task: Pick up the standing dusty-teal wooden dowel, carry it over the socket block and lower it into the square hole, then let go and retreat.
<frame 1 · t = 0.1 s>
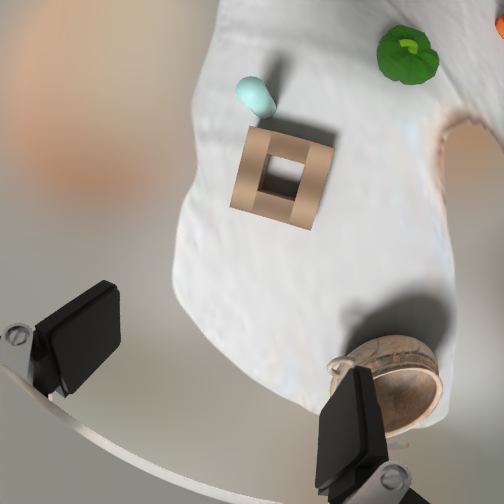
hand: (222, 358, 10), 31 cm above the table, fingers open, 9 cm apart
cooking pot: (379, 359, 43), on the table
bell pepper: (396, 66, 28), on the table
socket: (283, 176, 37), on the table
peg: (264, 107, 35), on the table
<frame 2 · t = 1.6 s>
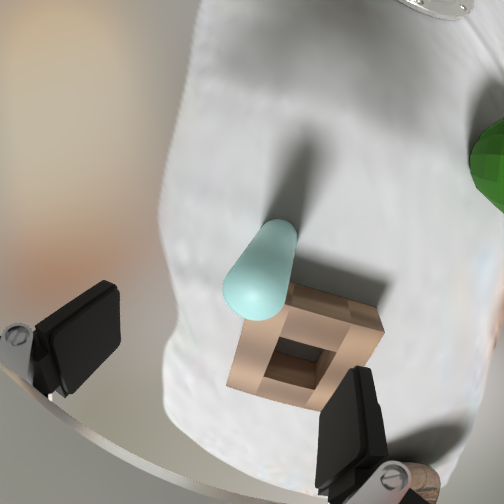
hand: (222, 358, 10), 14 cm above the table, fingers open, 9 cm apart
cooking pot: (385, 468, 32), on the table
bell pepper: (489, 163, 16), on the table
socket: (301, 338, 25), on the table
peg: (278, 237, 23), on the table
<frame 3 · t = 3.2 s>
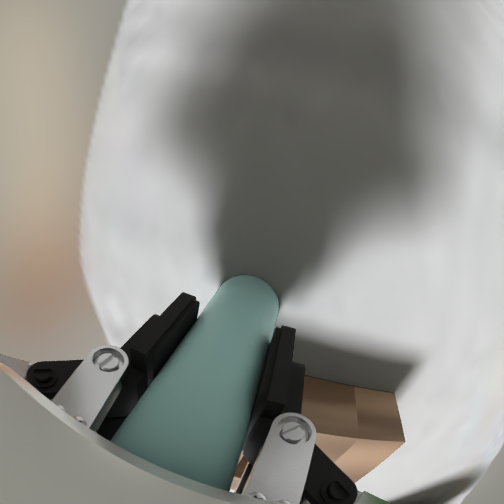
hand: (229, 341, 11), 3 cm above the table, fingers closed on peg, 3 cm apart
socket: (285, 427, 16), on the table
peg: (247, 304, 14), on the table, touching gripper
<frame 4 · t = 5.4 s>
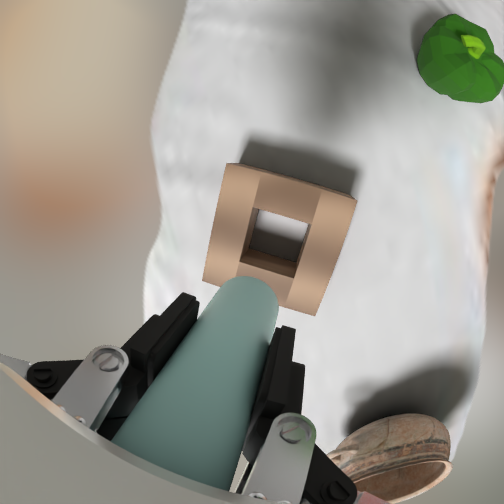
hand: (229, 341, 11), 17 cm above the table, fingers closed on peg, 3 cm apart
cooking pot: (385, 427, 33), on the table
bell pepper: (439, 72, 18), on the table
socket: (279, 232, 27), on the table
peg: (246, 305, 14), point 14 cm above the table, touching gripper
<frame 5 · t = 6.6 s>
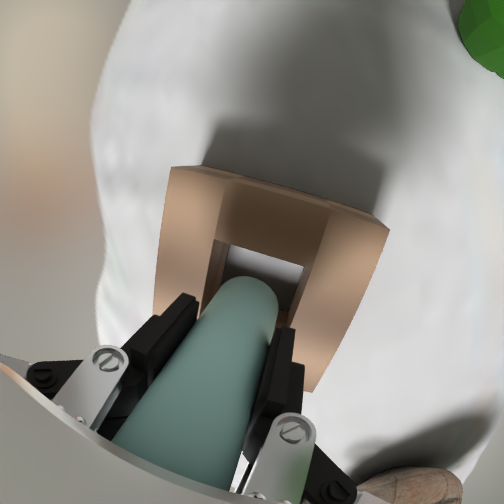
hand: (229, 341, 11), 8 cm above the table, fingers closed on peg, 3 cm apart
cooking pot: (391, 475, 24), on the table
bell pepper: (484, 45, 9), on the table
socket: (262, 269, 18), on the table
peg: (246, 305, 14), point 5 cm above the table, touching gripper
when the fingers open (5 cm above the table, at t = 7.4 s): peg drops 2 cm, resting in socket.
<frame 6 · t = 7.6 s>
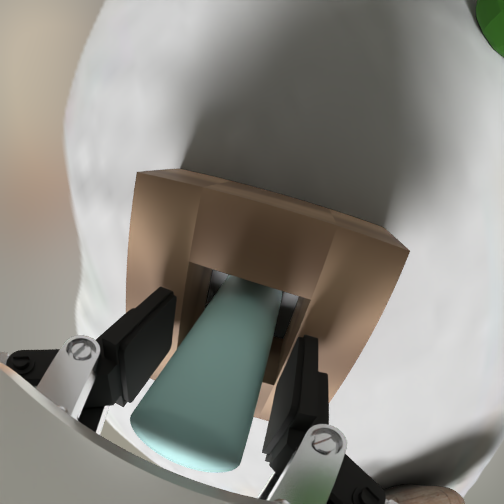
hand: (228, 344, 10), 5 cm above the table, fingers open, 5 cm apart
cooking pot: (392, 492, 21), on the table
bell pepper: (502, 36, 6), on the table
socket: (253, 291, 15), on the table
peg: (253, 291, 15), resting in socket
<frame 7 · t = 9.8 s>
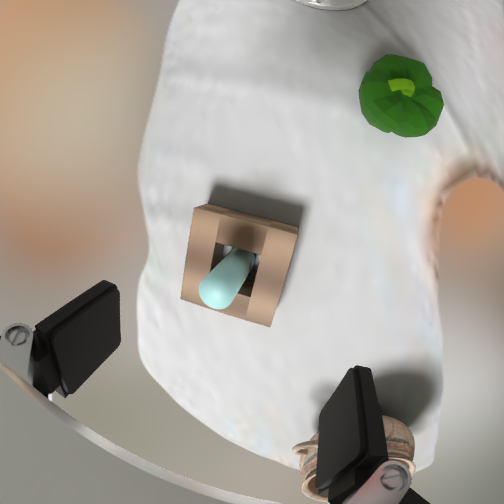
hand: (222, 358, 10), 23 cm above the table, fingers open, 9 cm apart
cooking pot: (355, 428, 38), on the table
bell pepper: (385, 107, 25), on the table
socket: (241, 259, 33), on the table
peg: (241, 259, 33), resting in socket
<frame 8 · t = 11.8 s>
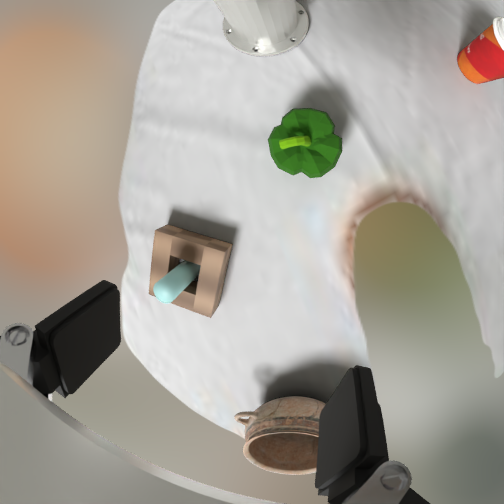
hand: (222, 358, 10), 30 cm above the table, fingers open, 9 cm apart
cooking pot: (297, 408, 49), on the table
coffee cup: (470, 67, 24), on the table
bell pepper: (306, 145, 35), on the table
socket: (193, 265, 43), on the table
peg: (193, 265, 43), resting in socket
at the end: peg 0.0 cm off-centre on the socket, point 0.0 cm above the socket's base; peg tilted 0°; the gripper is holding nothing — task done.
